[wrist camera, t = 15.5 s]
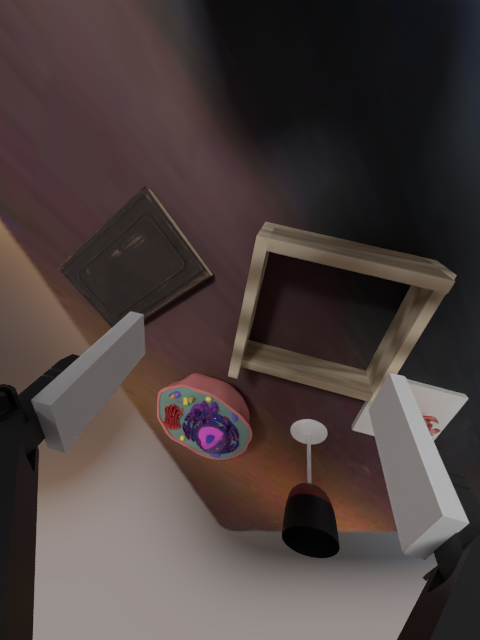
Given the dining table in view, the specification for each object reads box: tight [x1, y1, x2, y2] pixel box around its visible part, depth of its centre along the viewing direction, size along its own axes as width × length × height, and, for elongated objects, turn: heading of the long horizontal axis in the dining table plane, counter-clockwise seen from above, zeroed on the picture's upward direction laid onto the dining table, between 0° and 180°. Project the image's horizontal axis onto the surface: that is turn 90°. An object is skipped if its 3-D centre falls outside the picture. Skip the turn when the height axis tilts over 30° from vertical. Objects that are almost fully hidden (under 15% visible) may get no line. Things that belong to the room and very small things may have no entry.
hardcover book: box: [58, 186, 214, 327], centre depth 48 cm, size 16×23×2 cm
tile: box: [351, 379, 468, 441], centre depth 51 cm, size 14×14×1 cm
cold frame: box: [228, 222, 457, 403], centre depth 41 cm, size 22×24×9 cm
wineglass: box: [282, 419, 339, 558], centre depth 50 cm, size 8×9×20 cm
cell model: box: [157, 373, 252, 460], centre depth 54 cm, size 17×20×11 cm
